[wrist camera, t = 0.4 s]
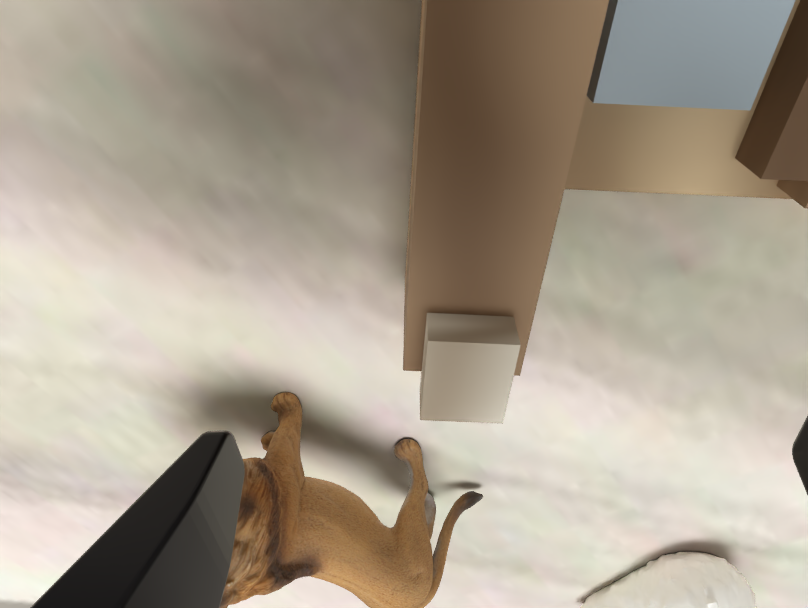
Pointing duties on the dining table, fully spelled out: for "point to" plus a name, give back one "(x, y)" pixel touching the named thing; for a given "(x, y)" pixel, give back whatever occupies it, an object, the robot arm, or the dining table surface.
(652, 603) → the white creature statuette
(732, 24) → the wing slat
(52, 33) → the dining table surface
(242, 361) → the dining table surface
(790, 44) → the jig
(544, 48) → the tall wooden prism
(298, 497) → the lion figurine
